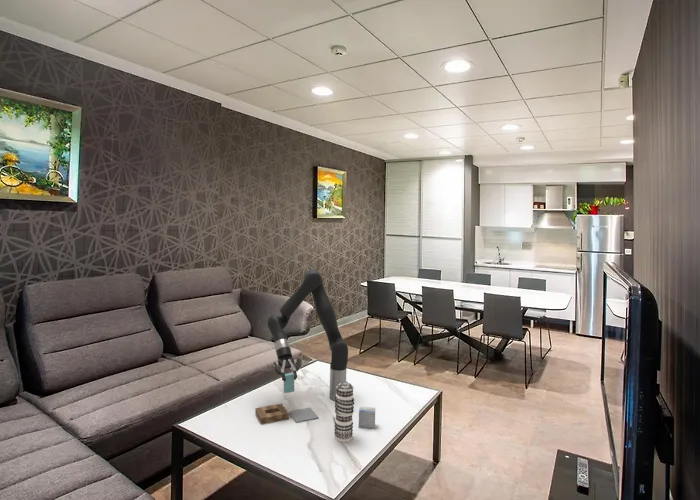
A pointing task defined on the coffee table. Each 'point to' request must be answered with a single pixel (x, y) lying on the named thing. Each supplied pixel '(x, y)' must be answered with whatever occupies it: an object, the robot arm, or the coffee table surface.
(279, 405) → the holder
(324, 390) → the coffee table surface
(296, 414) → the mat
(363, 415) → the medicine box
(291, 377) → the teal rectangular block
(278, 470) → the coffee table surface
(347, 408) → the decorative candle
